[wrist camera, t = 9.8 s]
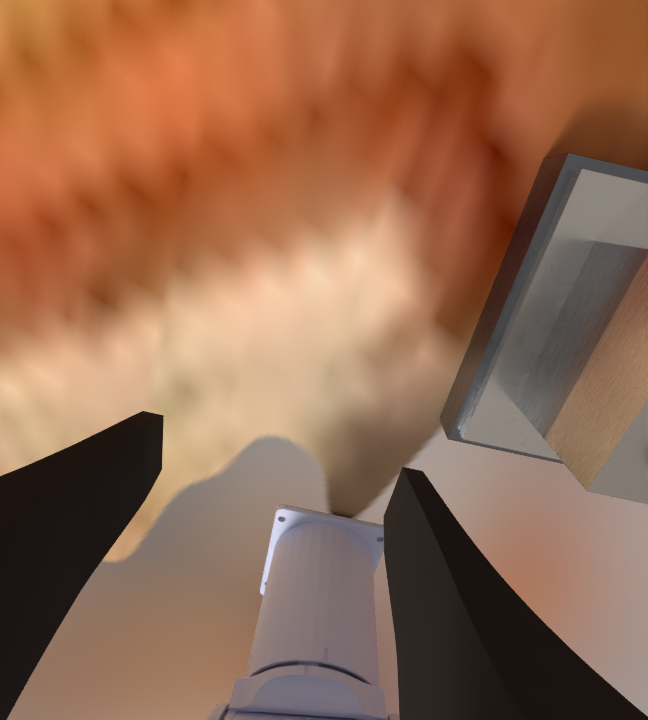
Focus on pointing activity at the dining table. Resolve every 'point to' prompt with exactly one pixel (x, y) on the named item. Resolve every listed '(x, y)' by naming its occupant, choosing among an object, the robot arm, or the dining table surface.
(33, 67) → the dining table surface
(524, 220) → the panel
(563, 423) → the housing
